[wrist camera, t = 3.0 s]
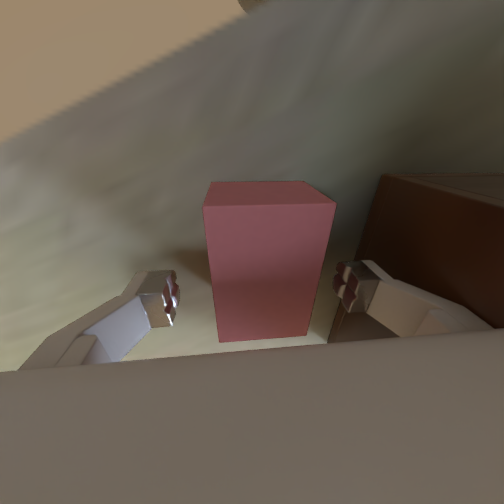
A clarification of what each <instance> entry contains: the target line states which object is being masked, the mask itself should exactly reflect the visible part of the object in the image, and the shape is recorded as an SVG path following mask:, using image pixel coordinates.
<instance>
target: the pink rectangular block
mask: <svg viewBox="0 0 504 504" xmlns="http://www.w3.org/2000/svg"><path fill="white" fill-rule="evenodd" d="M336 206H337V203H335V202H334V201H332V200H331V199H329V198H328V197H326V196H325V195H323V194H322V193H320V192H319V191H317V190H316V189H314V188H313V187H311V186H310V185H308V184H307V183H305V182H304V181H269V182H211V185H210V187H209V190H208V193H207V196H206V198H205V201H204V204H203V207H202V209H203V217H204V226H205V234H206V242H207V250H208V258H209V266H210V274H211V282H212V290H213V298H214V306H215V314H216V322H217V330H218V338H219V342H220V343H222V342H234V341H247V340H259V339H271V338H284V337H296V336H306V335H307V331H308V327H309V322H310V318H311V314H312V309H313V305H314V301H315V296H316V292H317V288H318V283H319V279H320V275H321V271H322V266H323V262H324V258H325V253H326V249H327V245H328V240H329V236H330V232H331V227H332V223H333V219H334V215H335V210H336Z"/></svg>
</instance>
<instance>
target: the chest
mask: <svg viewBox="0 0 504 504" xmlns="http://www.w3.org/2000/svg"><path fill="white" fill-rule="evenodd" d="M361 260H371V261H373V262H374V263H376V264H377V265H378V266H379V267H380V268H381V269H382V270H384V271H385V272H386V273H387V274H388V275H389V276H391V277H392V278H393V279H394V280H400V281H402V282H405V283H407V284H410V285H412V286H415V287H417V288H420V289H422V290H425V291H427V292H430V293H432V294H435V295H437V296H439V297H442V298H444V299H447V300H449V301H452V302H454V303H457V304H459V305H462V306H464V307H465V308H467V309H468V310H469V311H471V312H472V313H474V314H475V315H476V316H478V317H479V318H480V319H482V320H483V321H485V322H486V323H487V324H489V325H490V326H491V327H493V328H494V329H499V328H504V173H427V174H383V175H382V177H381V180H380V183H379V186H378V189H377V192H376V195H375V198H374V201H373V204H372V207H371V210H370V213H369V216H368V220H367V223H366V226H365V229H364V232H363V235H362V238H361V241H360V244H359V247H358V250H357V253H356V256H355V259H354V261H361ZM396 337H400V336H398V335H397V334H396V333H394V332H393V331H391V330H390V329H388V328H387V327H386V326H384V325H383V324H381V323H380V322H379V321H377V320H376V319H374V318H373V317H371V316H370V315H369V314H367V312H357V313H348V311H347V310H346V308H345V307H344V305H343V304H342V299H341V302H340V305H339V308H338V311H337V315H336V318H335V321H334V324H333V327H332V330H331V333H330V336H329V339H328V342H327V343H339V342H350V341H362V340H373V339H385V338H396Z"/></svg>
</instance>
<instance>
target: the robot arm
mask: <svg viewBox="0 0 504 504" xmlns="http://www.w3.org/2000/svg"><path fill="white" fill-rule="evenodd" d="M336 271H337V272H338V273H337V274H336V275H335V276H334V278H333V282H332V283H333V289H334V292H335V293H336V295H337V296H338V297H340V298H342V304H343V305H344V307H345V308H346V310H347V311H348V313H357V312H367V314H369V315H370V316H371V317H373V318H374V319H376V320H377V321H379V322H380V323H381V324H383V325H384V326H386V327H387V328H388V329H390V330H391V331H393V332H394V333H396V334H397V335H398V336H400V337H396V338H385V339H373V340H362V341H350V342H339V343H327V344H316V345H304V346H293V347H281V348H270V349H259V350H247V351H236V352H224V353H213V354H201V355H190V356H179V357H167V358H156V359H144V360H133V361H121V362H119V361H120V360H121V359H122V358H123V357H124V356H125V355H126V354H127V353H128V352H129V351H130V350H131V349H132V348H133V347H134V346H135V345H136V344H137V343H138V342H139V341H140V340H141V339H142V338H143V337H144V336H145V335H146V334H147V333H148V332H149V331H150V330H151V328H156V327H166V326H172V324H173V321H174V318H175V315H176V312H175V308H176V307H177V306H178V305H179V301H180V289H179V285H177V284H176V283H175V282H176V279H177V276H176V273H175V271H174V270H161V271H139V272H137V273H136V274H135V275H134V277H133V278H132V280H131V281H130V283H129V284H128V286H127V287H126V289H125V290H124V292H123V293H122V294H121V296H116V297H114V298H113V299H111V300H109V301H108V302H106V303H104V304H103V305H101V306H99V307H98V308H96V309H94V310H92V311H91V312H89V313H87V314H86V315H84V316H82V317H81V318H79V319H77V320H76V321H74V322H72V323H70V324H69V325H67V326H65V327H64V328H62V329H60V330H59V331H57V332H55V333H53V334H52V335H50V336H48V337H47V338H46V339H45V340H44V341H43V343H42V344H41V345H40V346H39V347H38V348H37V349H36V350H35V351H34V353H33V354H32V355H31V356H30V357H29V358H28V359H27V360H26V361H25V362H24V364H23V365H22V366H21V367H20V368H19V369H18V370H17V371H7V372H0V504H504V328H499V329H494V328H493V327H491V326H490V325H489V324H487V323H486V322H485V321H483V320H482V319H480V318H479V317H478V316H476V315H475V314H474V313H472V312H471V311H469V310H468V309H467V308H465V307H464V306H462V305H459V304H457V303H454V302H452V301H449V300H447V299H444V298H442V297H439V296H437V295H435V294H432V293H430V292H427V291H425V290H422V289H420V288H417V287H415V286H412V285H410V284H407V283H405V282H402V281H400V280H394V279H393V278H392V277H391V276H389V275H388V274H387V273H386V272H385V271H384V270H382V269H381V268H380V267H379V266H378V265H377V264H376V263H374V262H373V261H371V260H361V261H349V262H339V263H338V264H337V267H336Z"/></svg>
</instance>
